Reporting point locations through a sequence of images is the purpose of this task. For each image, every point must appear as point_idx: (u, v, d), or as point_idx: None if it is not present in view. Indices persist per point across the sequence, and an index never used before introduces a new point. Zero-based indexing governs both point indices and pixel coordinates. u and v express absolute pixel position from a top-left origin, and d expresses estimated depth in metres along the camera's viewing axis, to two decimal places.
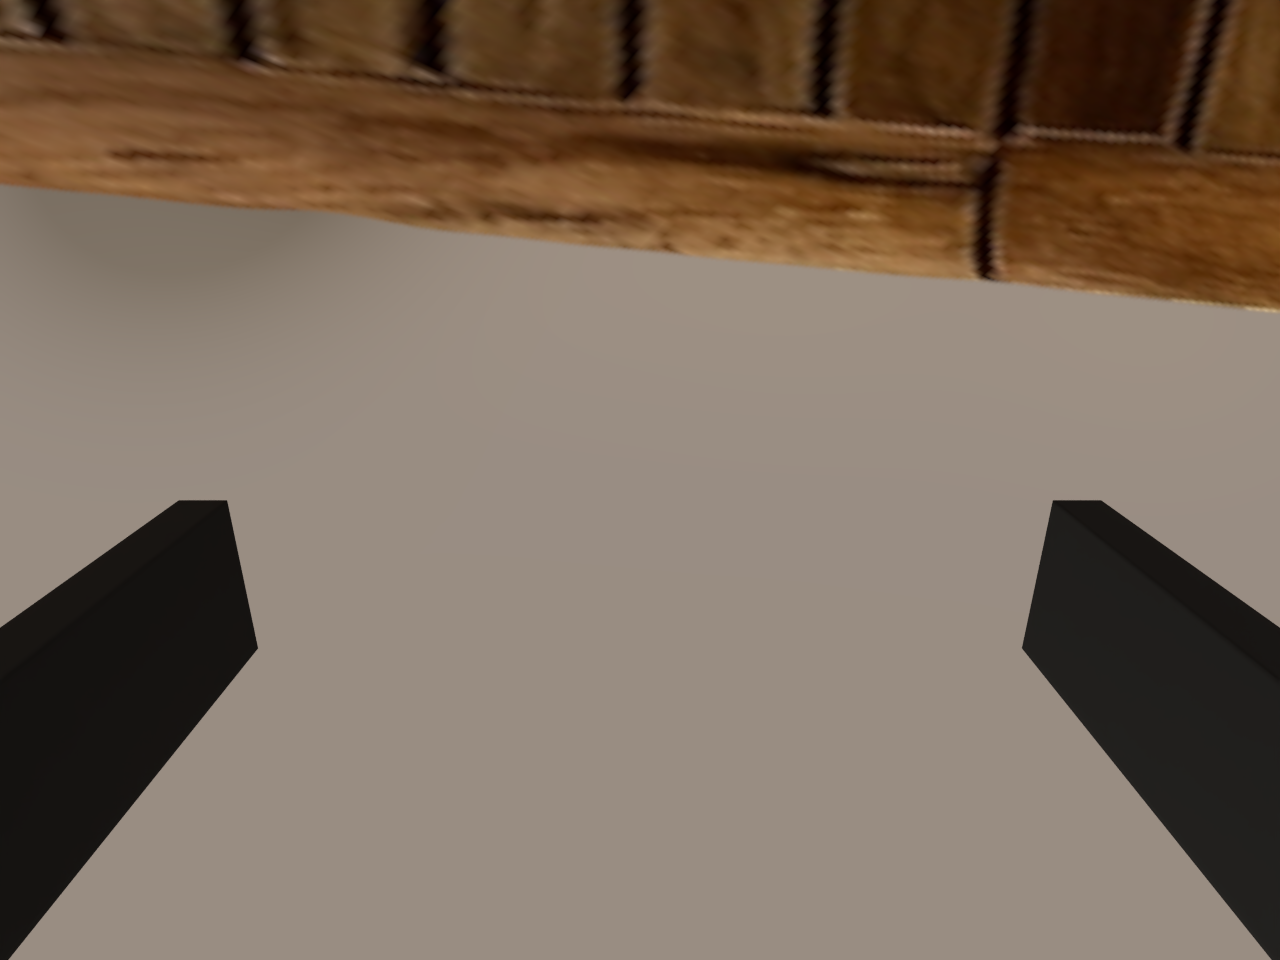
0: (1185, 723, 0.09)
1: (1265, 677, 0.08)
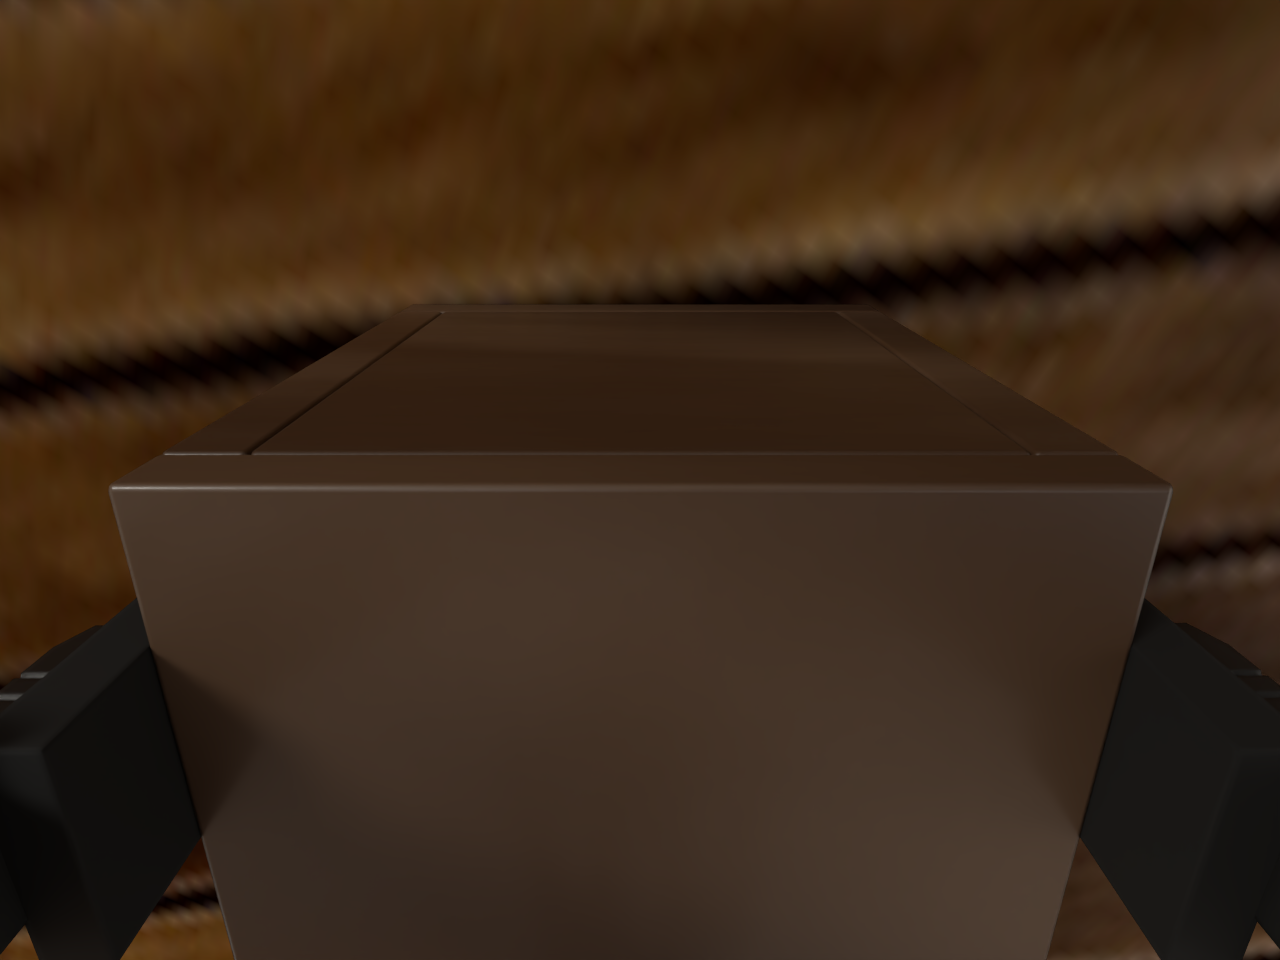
0: None
1: None
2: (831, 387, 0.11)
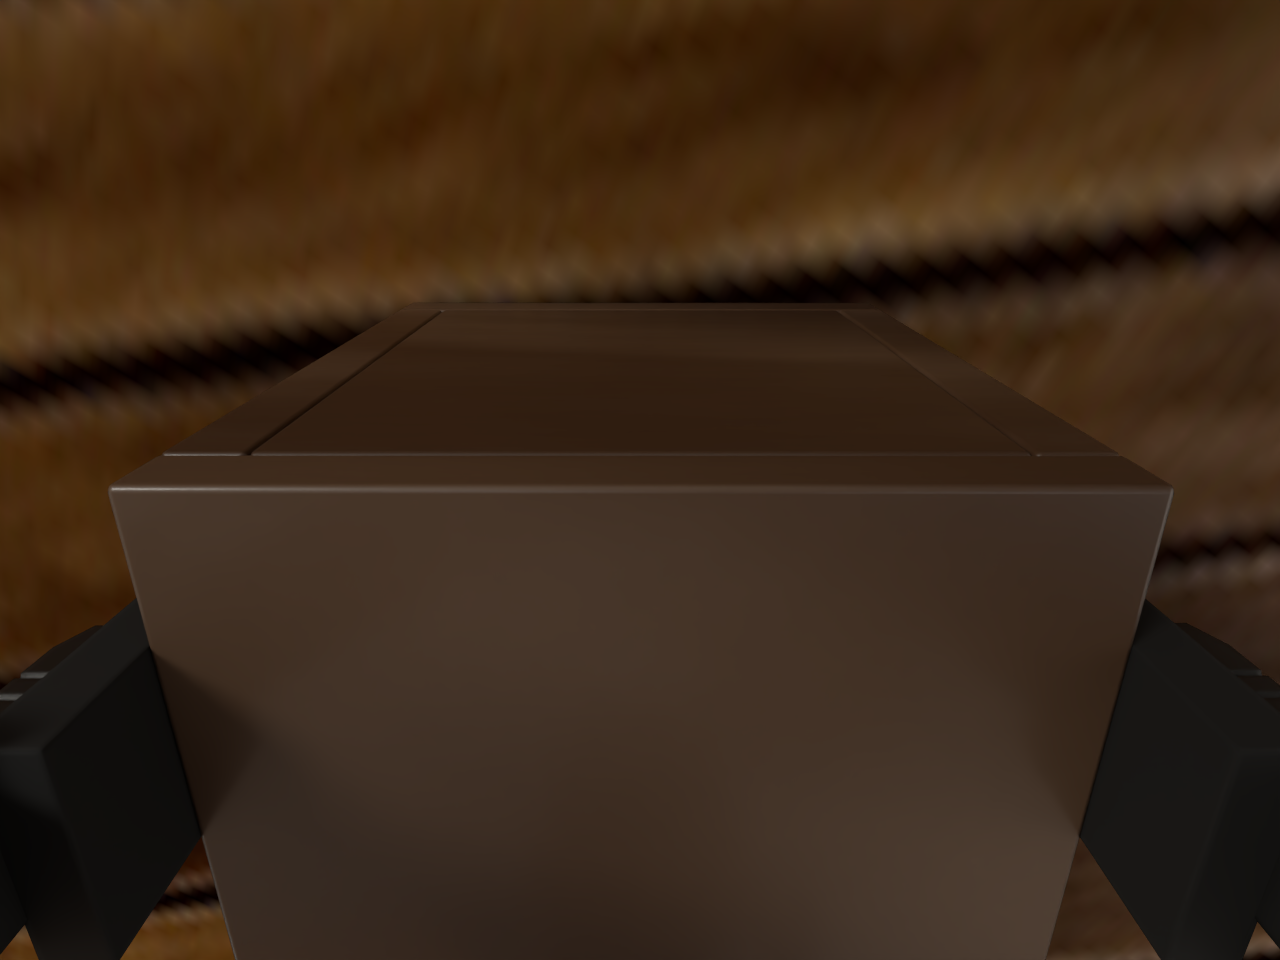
0: None
1: None
2: (831, 387, 0.11)
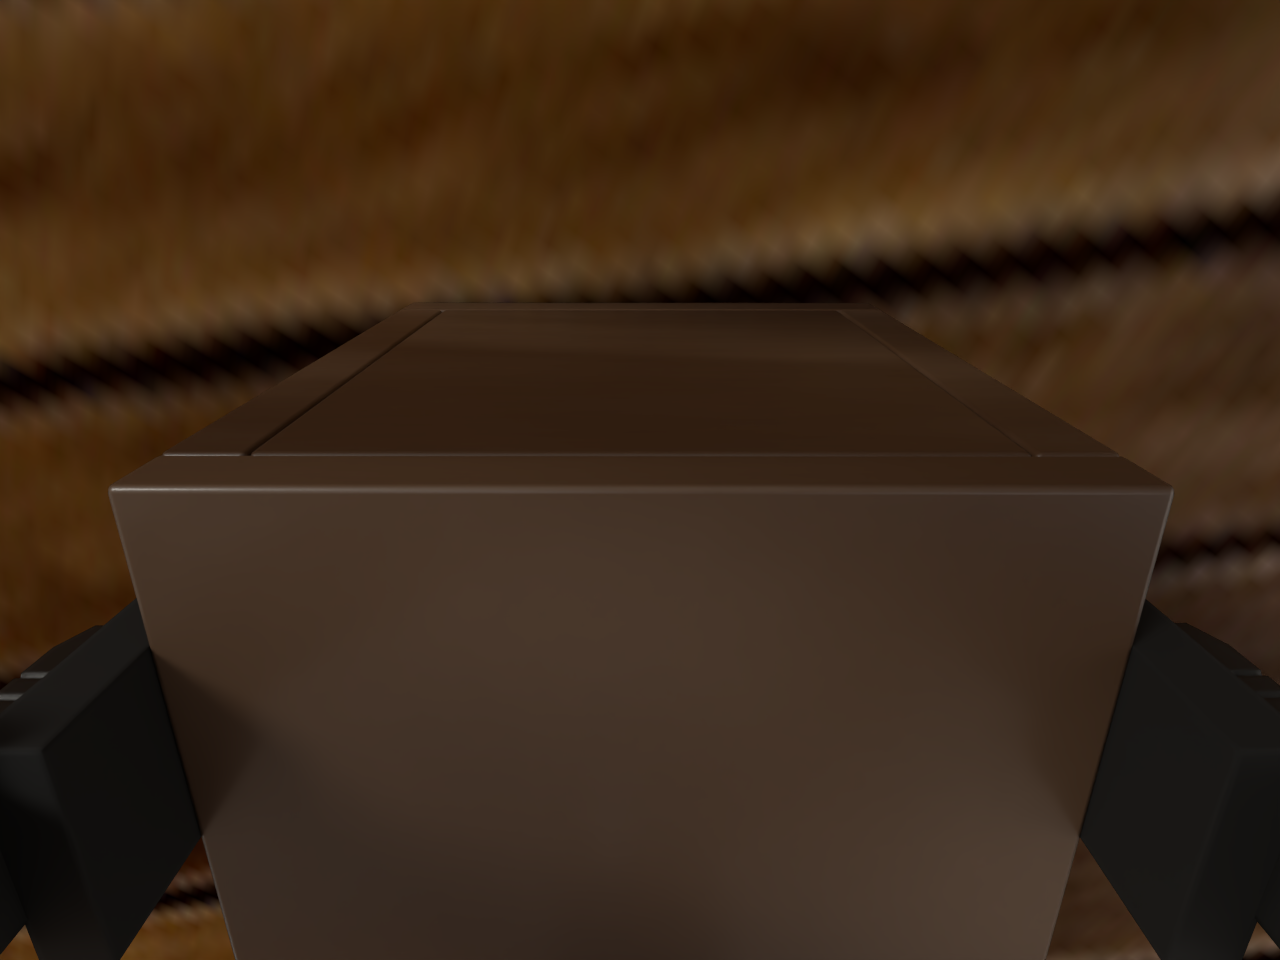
0: None
1: None
2: (832, 387, 0.11)
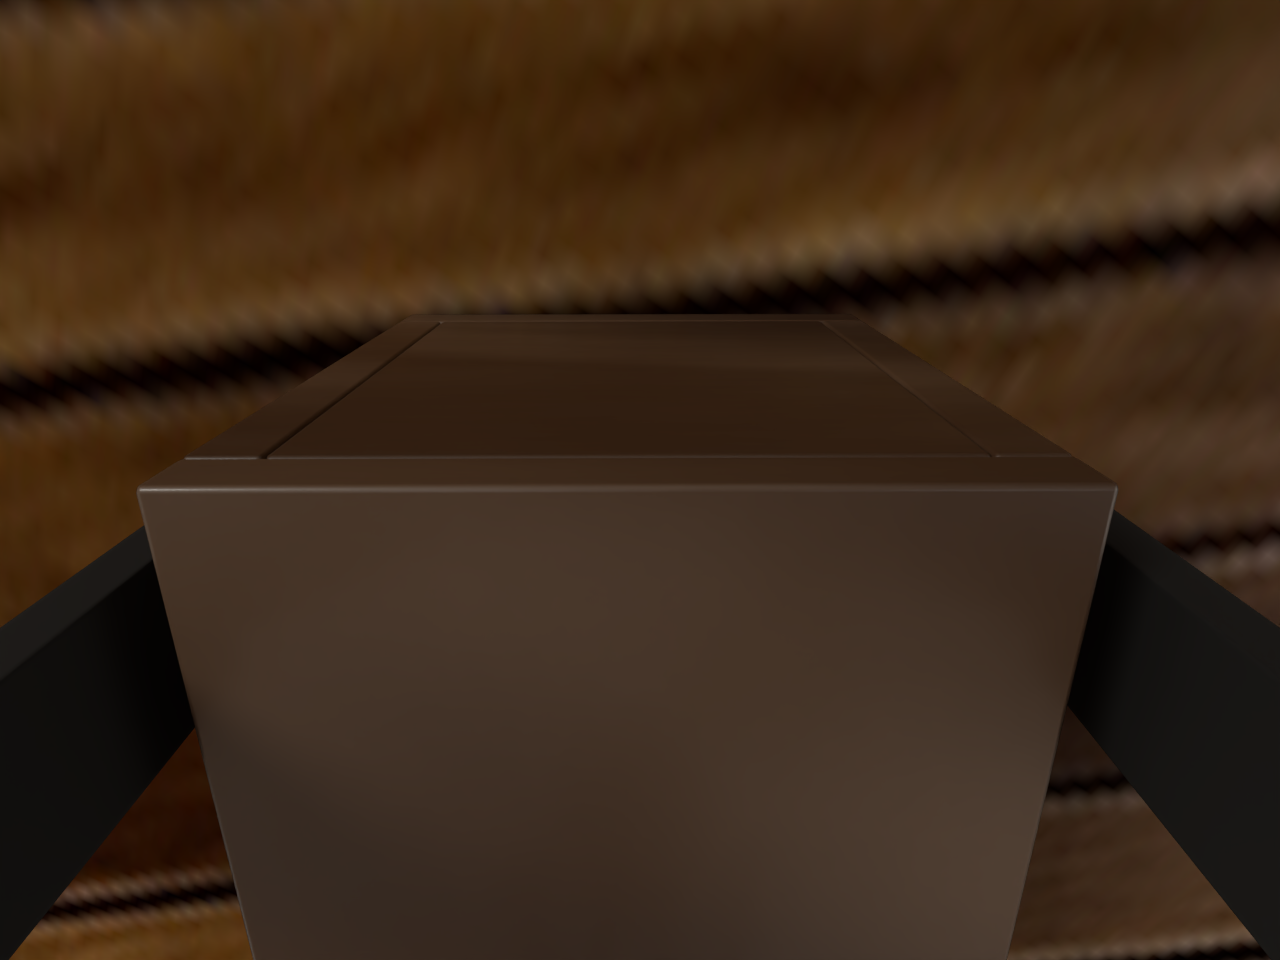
0: (1184, 722, 0.09)
1: (1265, 677, 0.08)
2: (810, 394, 0.12)
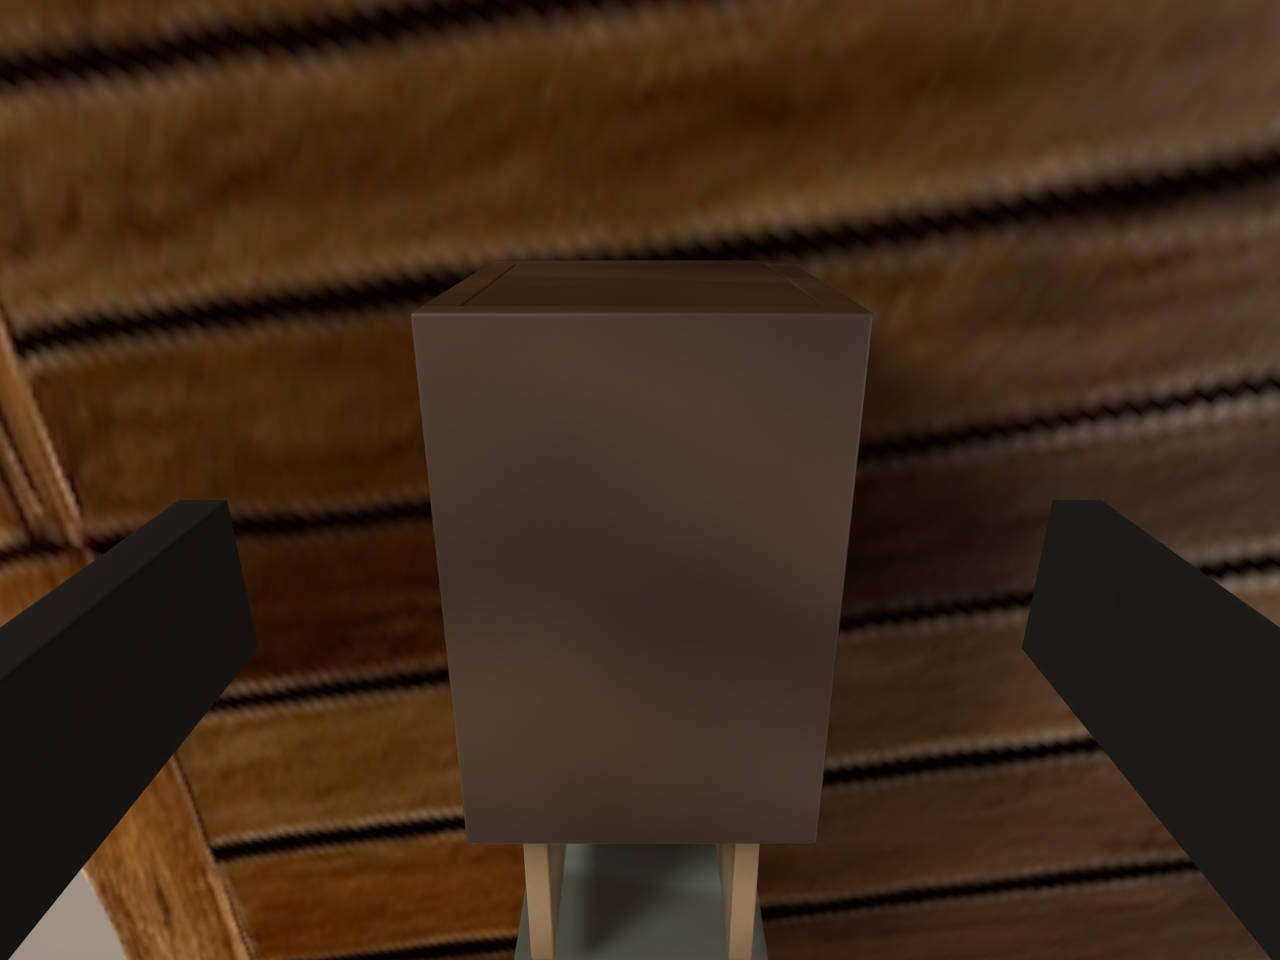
0: (1184, 723, 0.09)
1: (1265, 677, 0.08)
2: (741, 289, 0.21)
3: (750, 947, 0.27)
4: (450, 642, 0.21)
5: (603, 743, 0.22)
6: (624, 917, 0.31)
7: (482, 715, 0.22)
